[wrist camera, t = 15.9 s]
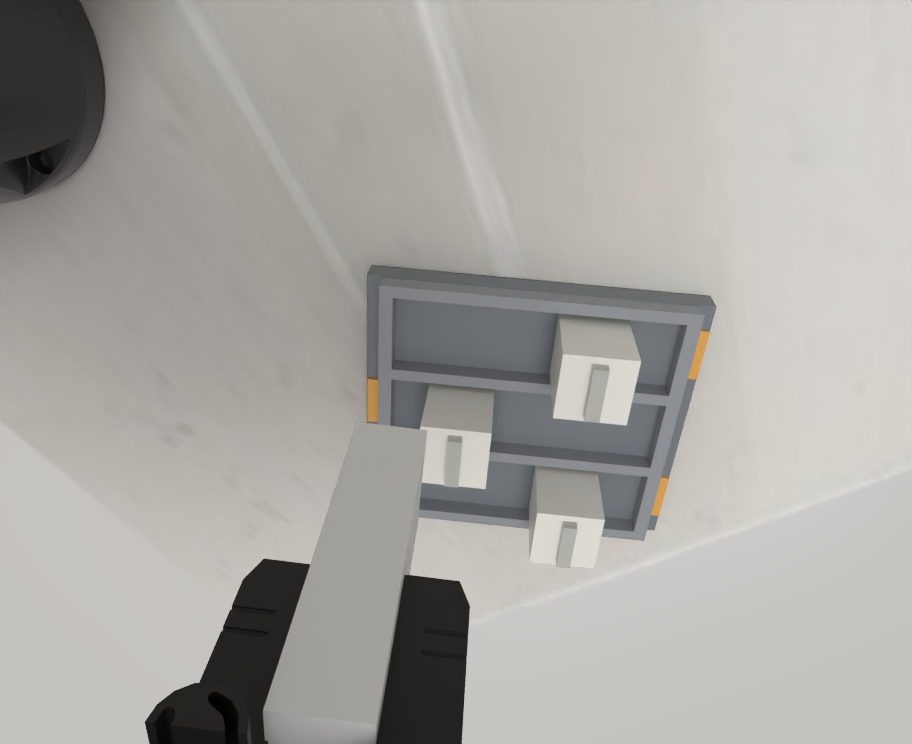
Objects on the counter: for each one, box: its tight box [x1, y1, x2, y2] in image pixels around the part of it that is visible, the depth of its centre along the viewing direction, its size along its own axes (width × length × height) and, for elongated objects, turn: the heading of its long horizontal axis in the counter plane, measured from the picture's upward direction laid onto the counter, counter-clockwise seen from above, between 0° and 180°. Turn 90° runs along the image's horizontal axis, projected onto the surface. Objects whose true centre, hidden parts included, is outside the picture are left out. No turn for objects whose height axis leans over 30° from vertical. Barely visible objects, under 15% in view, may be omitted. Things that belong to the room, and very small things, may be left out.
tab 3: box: [529, 466, 605, 569], centre depth 44 cm, size 4×4×6 cm
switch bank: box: [367, 266, 716, 541], centre depth 44 cm, size 20×17×3 cm
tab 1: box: [420, 383, 495, 489], centre depth 42 cm, size 4×4×6 cm
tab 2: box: [550, 314, 641, 426], centre depth 39 cm, size 4×4×6 cm
